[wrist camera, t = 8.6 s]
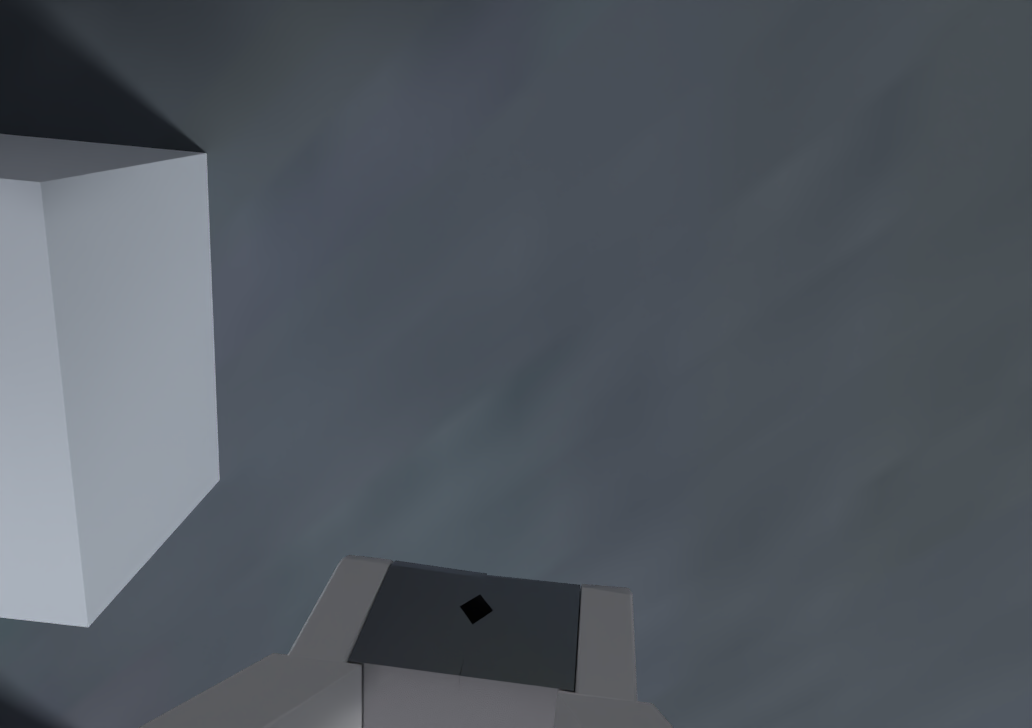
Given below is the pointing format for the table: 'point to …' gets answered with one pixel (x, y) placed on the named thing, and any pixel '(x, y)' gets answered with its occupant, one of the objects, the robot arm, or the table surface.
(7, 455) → the block
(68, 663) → the table surface
